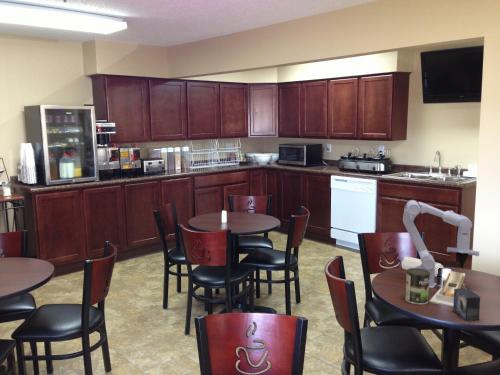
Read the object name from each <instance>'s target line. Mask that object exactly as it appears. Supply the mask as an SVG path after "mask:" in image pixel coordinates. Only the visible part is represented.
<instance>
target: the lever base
mask: <svg viewBox="0 0 500 375" xmlns="http://www.w3.org/2000/svg"><path fill="white" fill-rule="evenodd" d="M445 281H446V279H443V280H442V285H441V286H440V288H439V289H438V290H437V291H436V292H435V294H434V295H433V296H432V297H431V298H430V300H429V303H430V304H436V305H440V306H444V307H445V306H446V307H448V308H453V304H454V303H450V302H445V301H441V300H436V294H437V293H438V292H439V291H440V290H441V291H442V288H443V286H444V283H445ZM461 288H466V283H463V284H462V285H461Z"/></svg>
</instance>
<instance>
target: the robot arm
mask: <svg viewBox="0 0 500 375" xmlns="http://www.w3.org/2000/svg"><path fill="white" fill-rule="evenodd" d="M403 210H404V211H403V216H402V223H403V224H404V227H405V229H406V230H407V233H408V234H409V237H410V239H411V241H412V243H413V245H414V246H415V248H416V251H417V253H418V254H419V257H420V259H421V262H422V264H421V265H420V266H416V268H419V269H424V270H427V271H429V272H430V278H429V289H434V287H435V286H436V285H437V282H435V277H436V276H435V263H436V261H435V259H434V256H433V255H432V254H431V253H430V252H429V250H428V249H427V246H426V245H425V243H424V240H423V239H422V236H421V234H420V232H419V231H418V229H417V227H416V225H415V222H414V220H415V219H416V217H417V216H418V215H419V214H425V213H426V214H427V213H428V214H430V215H433V216H436V217H439V218H441V219H442V221H443V222H445V223H448V224H450V225H453V226H454V227H458V229H457V237H456V238H457V239H456V247H450V246H447V248H446V252H447V253H456V254H455V256H456V258H457V260H458V263H459V268H460V269H464V267H465V264H466V261H467V259H468V257H469V256H475V257H479V256H480V251H478V250H473V249H470V248H471V247H470V246H471V244H470V242H471V229H472V227H473V223H472V220H470V219H469V218H468V217H467V216H465V215H463V214H458V213H456V212H455V211H453V210H446V211H444V210H442V209H439V208H436V207H434V206H432V205H430V204H427V203H424V202H422V201H417V200H415V199H410V200H408V201H407V202H406V204H405V206H404V208H403Z"/></svg>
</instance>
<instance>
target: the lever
mask: <svg viewBox="0 0 500 375" xmlns="http://www.w3.org/2000/svg"><path fill="white" fill-rule="evenodd" d="M465 277H466V273H465V272H458V271H453V270H449V273H448V275H447V277H446V279H445V280H446V281H445V283H444V286H443V288H442V293H446V292H450V293H451V294H452V295H454V289H460V288H462V284H465V283H464V282H465Z"/></svg>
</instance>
